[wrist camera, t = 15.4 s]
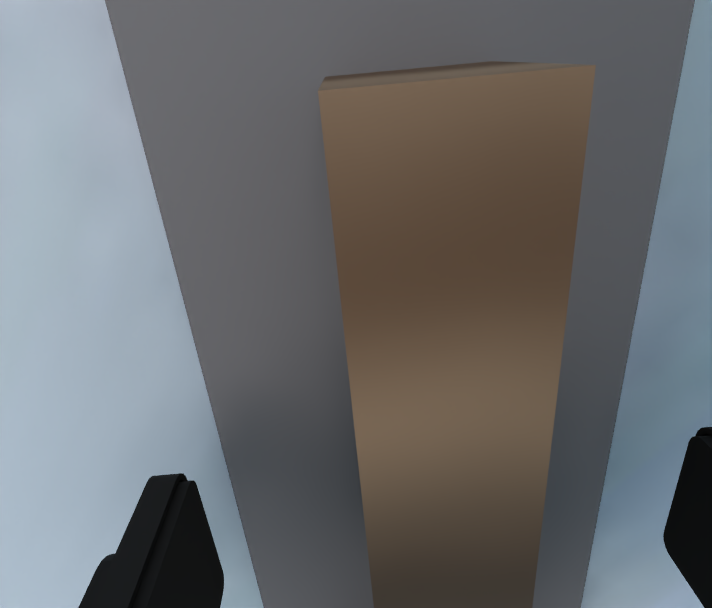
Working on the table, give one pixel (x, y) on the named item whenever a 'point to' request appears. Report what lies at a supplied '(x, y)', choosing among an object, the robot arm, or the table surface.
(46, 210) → the table surface
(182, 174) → the tool mat
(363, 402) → the wooden beam
